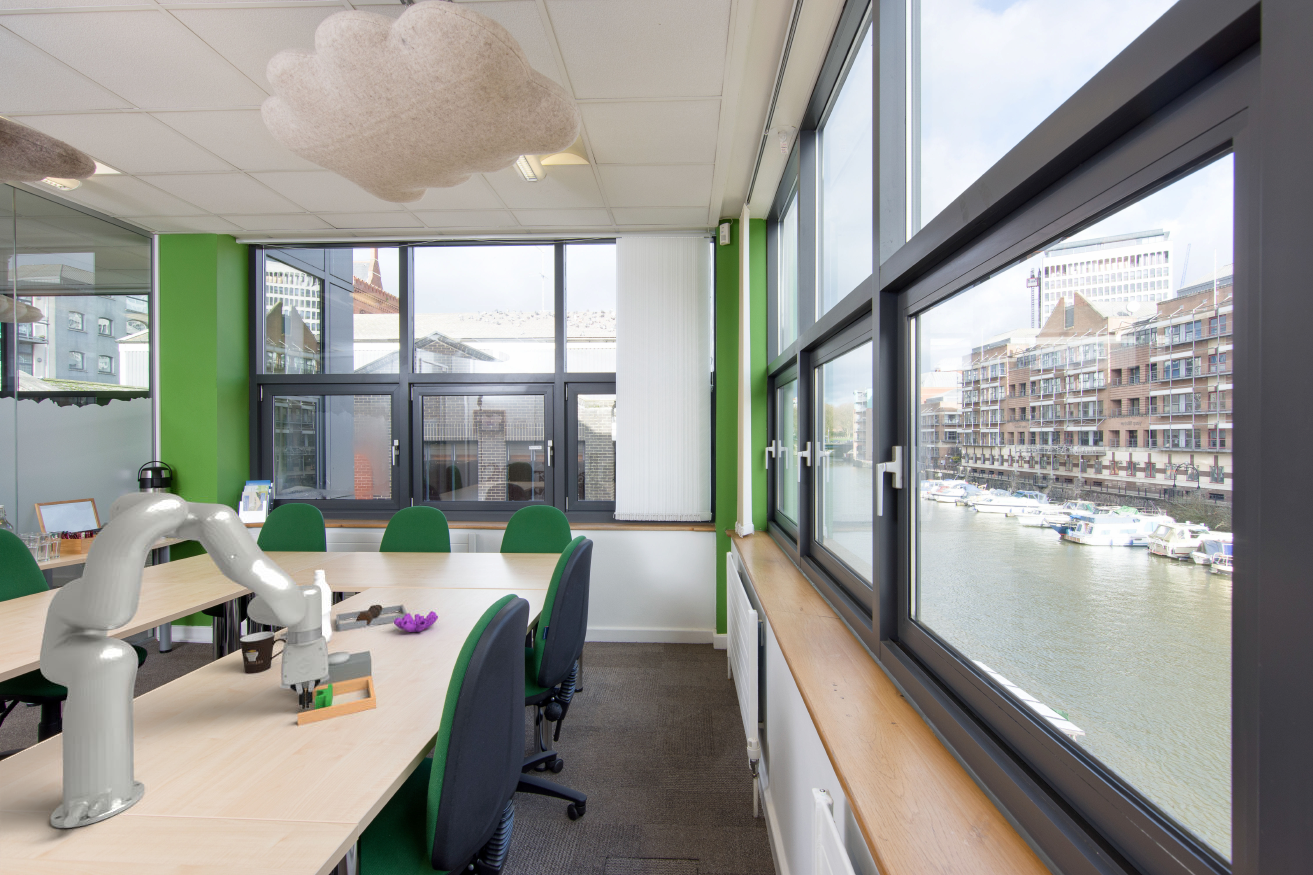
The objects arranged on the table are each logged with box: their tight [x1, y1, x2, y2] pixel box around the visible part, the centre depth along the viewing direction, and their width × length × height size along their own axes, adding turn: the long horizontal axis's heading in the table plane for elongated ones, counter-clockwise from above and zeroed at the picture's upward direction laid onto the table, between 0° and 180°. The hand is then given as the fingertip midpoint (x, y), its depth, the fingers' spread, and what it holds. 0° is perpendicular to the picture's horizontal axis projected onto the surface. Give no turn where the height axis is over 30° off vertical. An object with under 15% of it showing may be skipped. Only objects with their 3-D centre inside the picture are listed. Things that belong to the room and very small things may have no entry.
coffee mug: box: [239, 631, 287, 675], centre depth 171 cm, size 12×9×10 cm
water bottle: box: [312, 569, 333, 643], centre depth 193 cm, size 7×7×25 cm
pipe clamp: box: [314, 684, 334, 710], centre depth 145 cm, size 10×4×4 cm, turn 27°
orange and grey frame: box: [297, 650, 377, 726], centre depth 151 cm, size 24×17×8 cm
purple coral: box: [393, 610, 439, 633], centre depth 204 cm, size 11×15×10 cm
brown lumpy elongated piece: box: [355, 604, 383, 625], centre depth 217 cm, size 6×5×15 cm
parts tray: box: [335, 604, 408, 632], centre depth 217 cm, size 15×24×2 cm, turn 120°
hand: (305, 706), depth 143 cm, fingers closed
